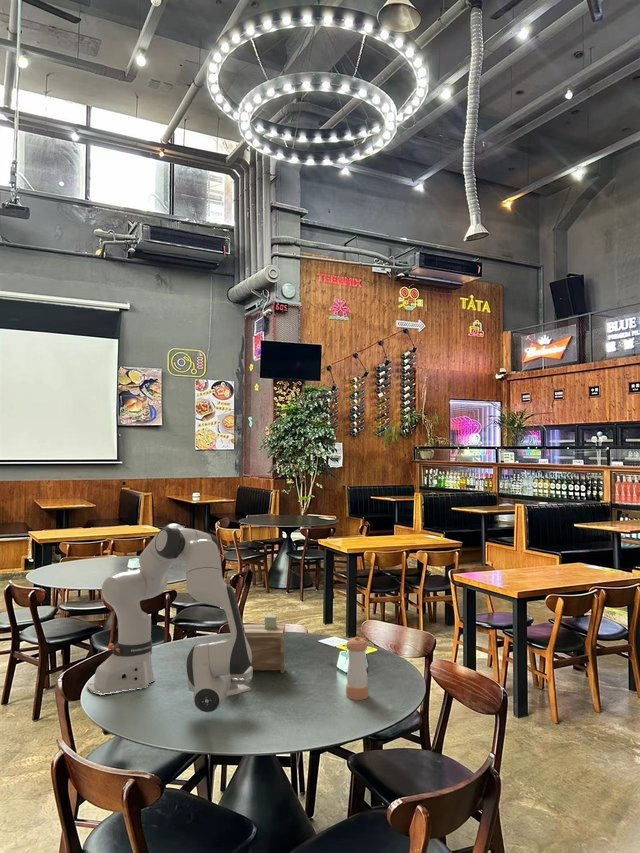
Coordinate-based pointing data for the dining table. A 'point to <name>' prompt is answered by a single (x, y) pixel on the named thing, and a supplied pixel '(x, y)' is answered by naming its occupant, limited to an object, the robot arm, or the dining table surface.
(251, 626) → the box
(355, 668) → the pepper shaker
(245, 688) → the ceramic tile
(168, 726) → the dining table surface
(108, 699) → the dining table surface
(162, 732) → the dining table surface
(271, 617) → the sage block
